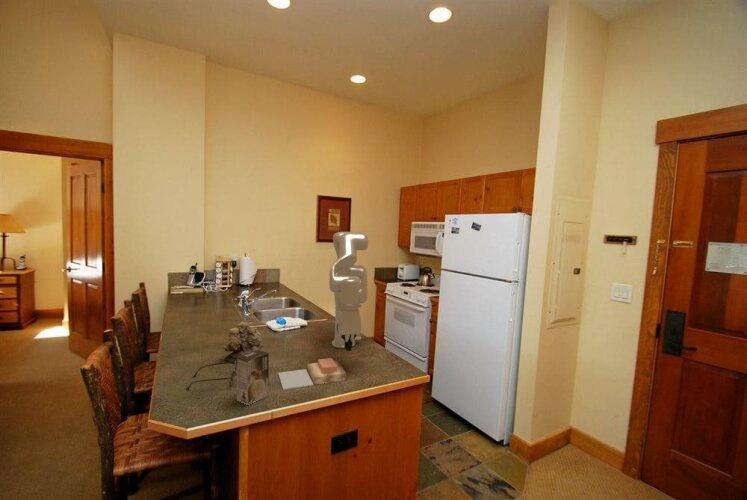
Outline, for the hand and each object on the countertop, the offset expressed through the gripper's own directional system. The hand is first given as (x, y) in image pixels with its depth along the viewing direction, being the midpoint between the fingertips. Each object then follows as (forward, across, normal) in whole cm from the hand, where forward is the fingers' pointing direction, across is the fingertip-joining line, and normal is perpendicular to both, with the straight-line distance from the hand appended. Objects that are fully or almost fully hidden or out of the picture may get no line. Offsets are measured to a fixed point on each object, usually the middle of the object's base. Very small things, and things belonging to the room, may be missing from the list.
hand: (348, 349), depth 144 cm
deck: (+10, +9, -1) cm, 14 cm away
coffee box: (+11, +39, +9) cm, 41 cm away
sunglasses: (+11, +53, -10) cm, 55 cm away
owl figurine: (+10, +41, -31) cm, 52 cm away
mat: (+10, +22, -1) cm, 24 cm away
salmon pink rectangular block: (+6, +9, -1) cm, 11 cm away
